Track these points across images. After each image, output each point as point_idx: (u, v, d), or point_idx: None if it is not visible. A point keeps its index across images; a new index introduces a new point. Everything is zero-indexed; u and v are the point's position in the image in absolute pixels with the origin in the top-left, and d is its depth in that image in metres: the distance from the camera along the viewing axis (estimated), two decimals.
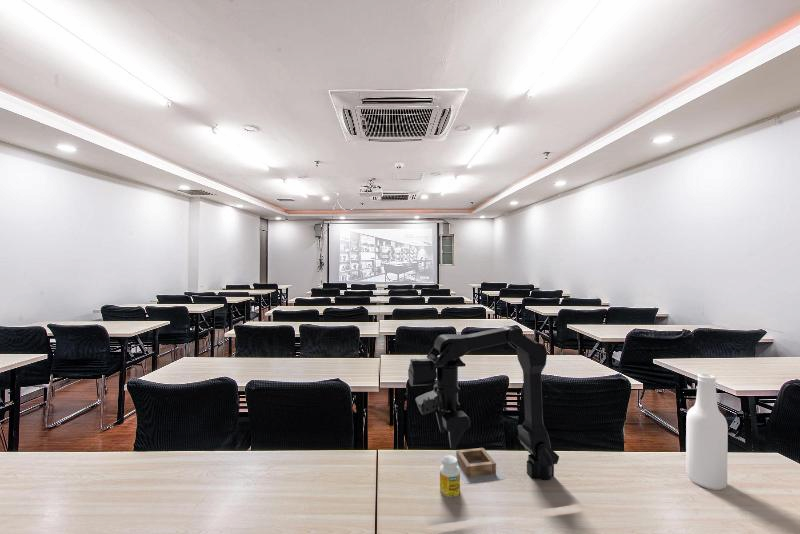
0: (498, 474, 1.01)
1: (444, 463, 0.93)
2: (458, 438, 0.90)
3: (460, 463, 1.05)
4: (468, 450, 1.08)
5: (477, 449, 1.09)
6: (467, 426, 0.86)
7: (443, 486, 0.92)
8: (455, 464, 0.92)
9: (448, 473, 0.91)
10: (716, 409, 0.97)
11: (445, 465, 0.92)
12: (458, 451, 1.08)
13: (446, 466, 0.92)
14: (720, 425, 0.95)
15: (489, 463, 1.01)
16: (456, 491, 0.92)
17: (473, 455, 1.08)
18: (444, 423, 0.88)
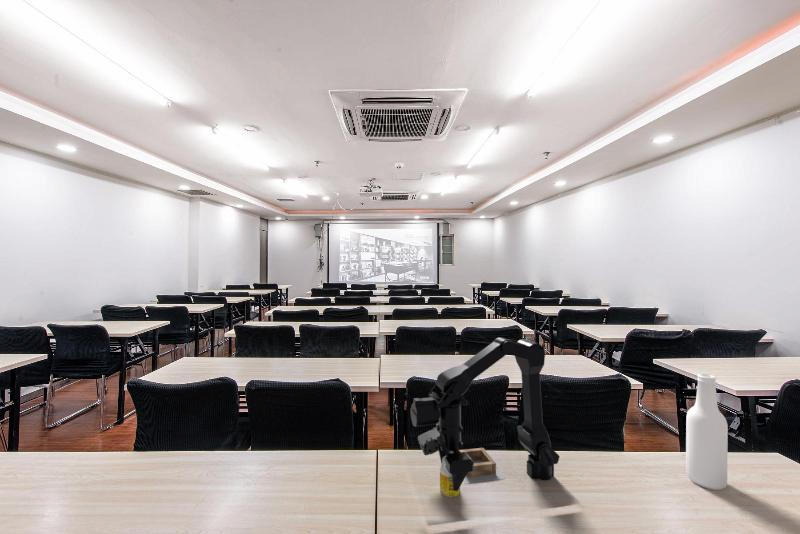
0: (498, 474, 1.01)
1: (444, 463, 0.93)
2: (461, 480, 0.88)
3: None
4: (468, 450, 1.08)
5: (477, 449, 1.09)
6: (470, 469, 0.85)
7: (443, 486, 0.92)
8: None
9: (448, 473, 0.91)
10: (716, 409, 0.97)
11: (445, 465, 0.92)
12: None
13: None
14: (720, 425, 0.95)
15: (489, 463, 1.01)
16: (456, 491, 0.92)
17: (473, 455, 1.08)
18: (447, 466, 0.86)
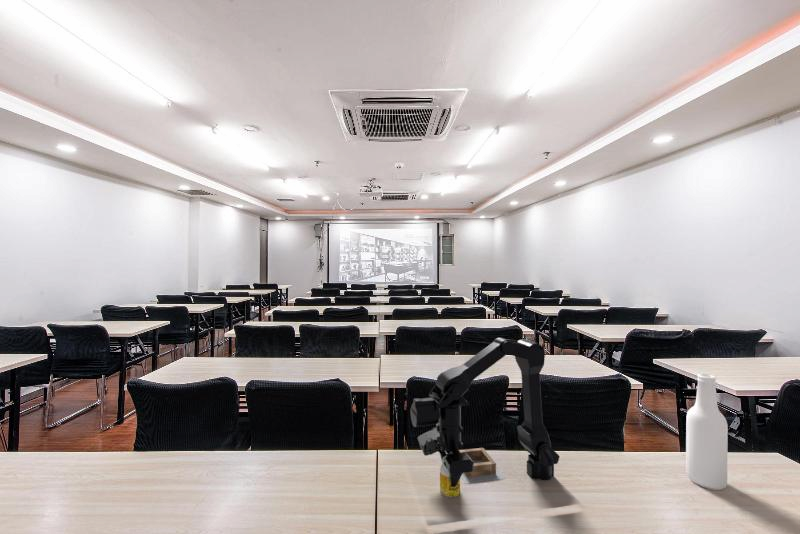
0: (498, 474, 1.01)
1: None
2: (459, 476, 0.90)
3: None
4: (468, 450, 1.08)
5: (477, 449, 1.09)
6: (470, 470, 0.85)
7: (443, 486, 0.92)
8: None
9: (448, 473, 0.91)
10: (716, 409, 0.97)
11: None
12: None
13: None
14: (720, 425, 0.95)
15: (489, 463, 1.01)
16: (456, 491, 0.92)
17: (473, 455, 1.08)
18: (447, 466, 0.86)
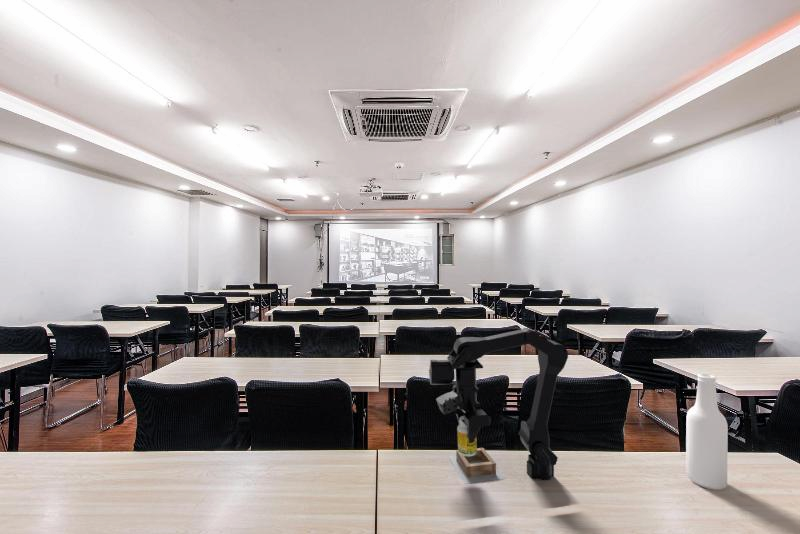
0: (498, 474, 1.01)
1: (461, 422, 0.99)
2: (476, 432, 0.97)
3: (460, 463, 1.05)
4: None
5: (477, 449, 1.09)
6: (488, 424, 0.92)
7: (461, 443, 0.98)
8: None
9: (465, 430, 0.98)
10: (716, 409, 0.97)
11: (462, 423, 0.99)
12: None
13: (463, 424, 0.99)
14: (720, 425, 0.95)
15: (489, 463, 1.01)
16: (474, 447, 0.98)
17: None
18: (466, 421, 0.93)
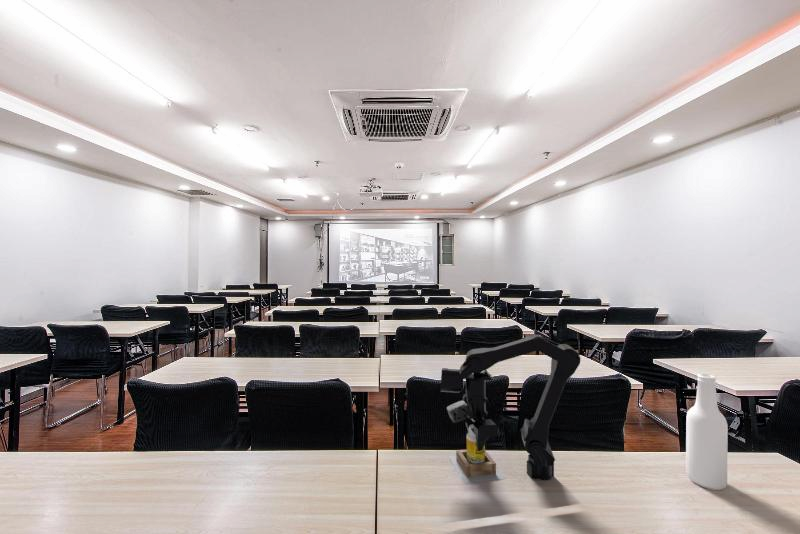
0: (498, 474, 1.01)
1: (470, 430, 1.03)
2: (484, 441, 1.01)
3: (460, 463, 1.05)
4: None
5: None
6: (496, 433, 0.96)
7: (470, 450, 1.03)
8: None
9: (474, 439, 1.02)
10: (716, 409, 0.97)
11: (472, 432, 1.03)
12: (458, 451, 1.08)
13: None
14: (720, 425, 0.95)
15: (489, 463, 1.01)
16: (482, 455, 1.03)
17: None
18: (475, 430, 0.97)
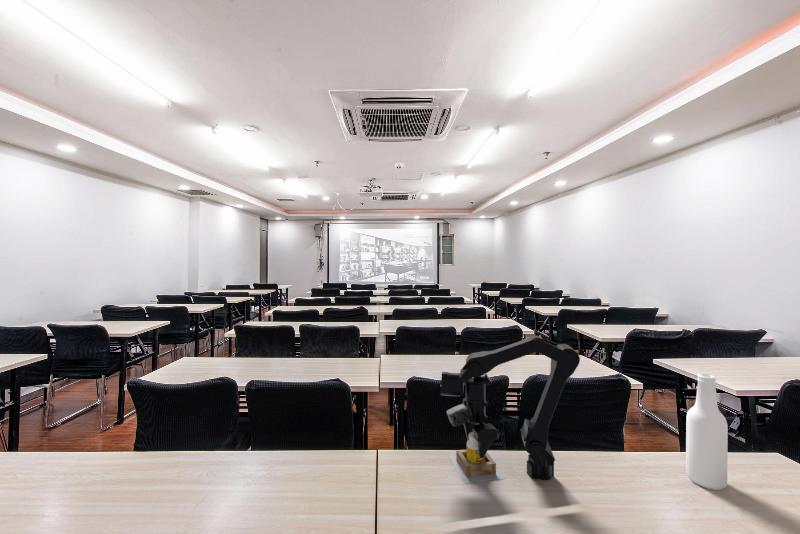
0: (498, 474, 1.01)
1: (471, 438, 1.03)
2: (487, 448, 0.99)
3: (460, 463, 1.05)
4: None
5: None
6: (496, 437, 0.96)
7: (470, 458, 1.03)
8: None
9: (474, 447, 1.02)
10: (716, 409, 0.97)
11: (472, 440, 1.03)
12: (458, 451, 1.08)
13: (473, 440, 1.03)
14: (720, 425, 0.95)
15: (489, 463, 1.01)
16: None
17: None
18: (475, 435, 0.97)
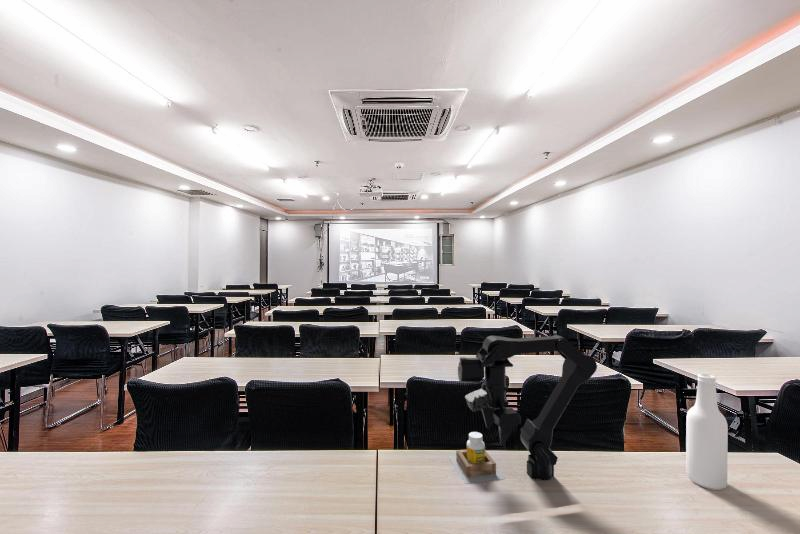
0: (498, 474, 1.01)
1: (471, 438, 1.03)
2: (508, 433, 0.95)
3: (460, 463, 1.05)
4: None
5: None
6: (518, 422, 0.92)
7: (470, 458, 1.03)
8: (481, 439, 1.03)
9: (474, 447, 1.02)
10: (716, 409, 0.97)
11: (472, 440, 1.03)
12: (458, 451, 1.08)
13: (473, 440, 1.03)
14: (720, 425, 0.95)
15: (489, 463, 1.01)
16: None
17: None
18: (496, 419, 0.93)
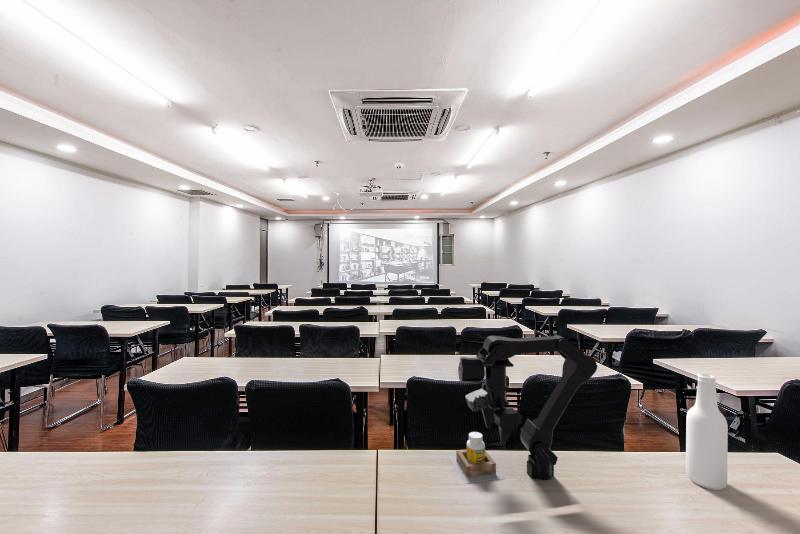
0: (498, 474, 1.01)
1: (471, 438, 1.03)
2: (508, 434, 0.95)
3: (460, 463, 1.05)
4: None
5: None
6: (519, 422, 0.92)
7: (470, 458, 1.03)
8: (481, 439, 1.03)
9: (474, 447, 1.02)
10: (716, 409, 0.97)
11: (472, 440, 1.03)
12: (458, 451, 1.08)
13: (473, 440, 1.03)
14: (720, 425, 0.95)
15: (489, 463, 1.01)
16: None
17: None
18: (496, 419, 0.93)
